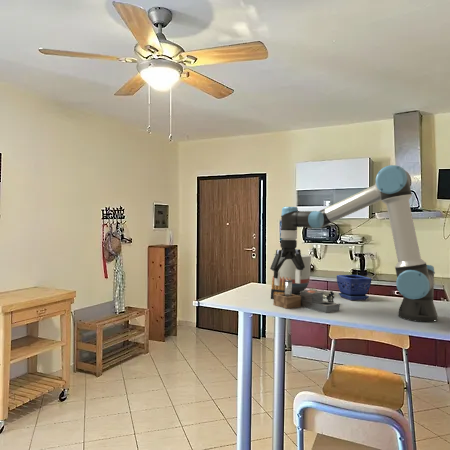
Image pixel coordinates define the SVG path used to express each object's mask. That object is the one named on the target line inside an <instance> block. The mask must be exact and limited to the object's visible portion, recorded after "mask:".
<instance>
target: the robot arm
mask: <svg viewBox="0 0 450 450" xmlns="http://www.w3.org/2000/svg"><path fill="white" fill-rule="evenodd" d="M411 186H412V177H411V175H410V173H409V172H408V171H406V170H405V169H404V168H403V167H402V166H400V165H393V164H390V165H386V166H384V167H382V168H381V169H380V170H379V171H378V172H377V173H376V177H375V183H374V184H373V185H371V186H369V187H368V188H365V189H362V190H361V191H359V192H357V193H355V194H352V195H351V196H348V197H345V198H344V199H341V200H340V201H338V202H336V203H333V204H331V205H329V206H327V207H325V208H323V209H321V210H318V211H317V210H310V211H309V210H305V211H304V210H302V211H301V210H298V209H299V208H298V207H297V206H284V207H282V208H281V216H280V217H281V218H280V219H281V223H280V224H281V225H280V227H281V228H280V230H281V231H280V238H281V240H280V248H281V249H276V250H275V254H276V255H275V257H274V256H273V261H272V263H271V266H270V267H269V269H270V270H271V271H273V276H274V278H275V279H274V285H277V286H280V271H279V269H280V268H281V266H282V264H283V263H284V261H285V260H286V259H291V260H292V261H293V263H294V265H295V266H296V268H297V269H298V270H297V269H296V272H295V283H298V284H300V279H301V270H303V268H305V266H304V263H303V260H302V256H301V254H302V253H301V251H302V250H301V249H299V248H298V249H297V245H298V240H297V239H298V228H309V229H310V228H312V229H317V228H319V229H321V228H325V227H327V226H328V225H329V224H331V223H333V222H335V221H338V220H341V219H343V218H345V217H347V216H349V215H352V214H354V213H357V212H358V211H360V210H363V209H365V208H367V207H369V206H372V205H375V204H377V203H379V202H382V203H383V204H385V205H386V210H387V216H388V219H389V224H390V230H391V233H392V235H391V236H392V238H393V239H392V240H393V243H394V248H395V249H394V250H395V254H396V258H397V259H396V260H397V263H396V265H395V266H394V269H395V274H396V281H395V282H396V283H395V284H396V290H397V291H398V293H399V294H400V295H402V300H401V303H400V306H399V308H398V312H397V314H398V317H399V318H401V319H404V318H405V319H404V320H407V319H409V320H408V321H413V320H416V321H415V322H420V321H434V320H437V321H438V312H437V310H436V309H437V308H436V306H435V303H434V302H435V301H434V291H435V289H434V285H435V284H434V282H435V274H436V272H435V267H434V266H433V265H431V264H427V262H426V261H425V260H423V259H422V257H421V252H420V247H419V243H418V238H417V233H416V229H415V228H416V227H415V224H414V220H413V215H412V210H411V205H410V199H411V198H412V196H413V195H412V190H411V189H412V188H411ZM281 254H282V255H281ZM434 322H435V321H434Z"/></svg>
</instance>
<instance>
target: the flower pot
mask: <svg viewBox="0 0 450 450" xmlns="http://www.w3.org/2000/svg"><path fill="white" fill-rule="evenodd" d="M336 283H337V288H338V290H339V291H340V292H338V296H340V297H341V298H343V299H346V300H350V301H366V300H367V299H368V298H369V297H370V296H369V295H367V294H368V292H369V290H370V288H371V286H372V285H371V284H372V278H371V277H367V276H363V275H359V274H337V275H336Z"/></svg>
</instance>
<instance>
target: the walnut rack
mask: <svg viewBox="0 0 450 450" xmlns="http://www.w3.org/2000/svg"><path fill="white" fill-rule="evenodd" d="M272 305H273V306H275V307H280V308H282V309H283V308H284V309H287V310H288V309H293V308H300V307H301V296H300V295H298V294H292V296H289V297H286V296H285V293H283V294H274V299H273V303H272Z"/></svg>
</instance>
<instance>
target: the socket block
mask: <svg viewBox="0 0 450 450" xmlns="http://www.w3.org/2000/svg"><path fill="white" fill-rule="evenodd" d="M308 290H309V289H305V290H304V291H300V293H299V296H301V307H302V308H306V309H310V310H314V311H317V312H320V313H325V314H327V313H328V314H329V313H333V312H334V313H336V312H340V305H341V304H340V303H337V302H333V303H332V302H328V300H325V299H323V295H324V292H323V291H318V290H317V291H315V290H313V291H315V293H310V292H308Z"/></svg>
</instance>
